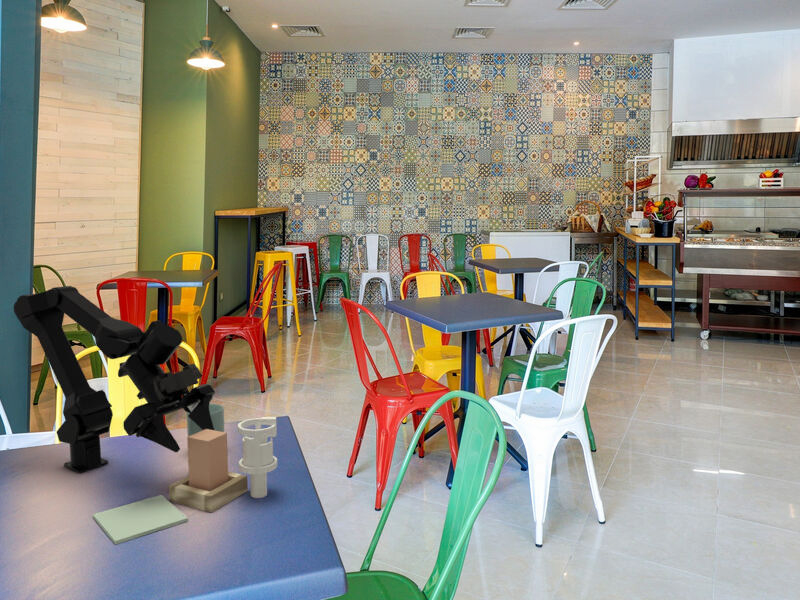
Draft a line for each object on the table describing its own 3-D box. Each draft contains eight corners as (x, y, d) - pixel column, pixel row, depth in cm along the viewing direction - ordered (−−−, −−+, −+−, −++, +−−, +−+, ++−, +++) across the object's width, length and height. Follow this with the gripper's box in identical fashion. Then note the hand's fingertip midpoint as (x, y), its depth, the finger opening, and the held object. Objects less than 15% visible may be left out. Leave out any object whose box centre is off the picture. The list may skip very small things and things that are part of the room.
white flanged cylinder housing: (277, 501, 117) (275, 423, 115) (238, 504, 115) (236, 425, 113) (278, 485, 124) (276, 411, 122) (241, 487, 122) (239, 413, 120)
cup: (214, 459, 136) (212, 415, 135) (181, 456, 138) (179, 412, 137) (231, 447, 144) (229, 404, 143) (199, 444, 145) (198, 402, 144)
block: (189, 498, 117) (187, 436, 116) (208, 488, 122) (206, 428, 120) (210, 504, 115) (208, 441, 114) (228, 493, 120) (226, 432, 118)
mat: (92, 517, 110) (92, 514, 110) (161, 497, 118) (161, 494, 118) (115, 544, 101) (115, 541, 101) (187, 521, 109) (187, 517, 109)
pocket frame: (169, 501, 116) (168, 485, 116) (207, 481, 125) (207, 466, 125) (211, 512, 112) (210, 496, 112) (247, 490, 121) (247, 475, 121)
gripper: (130, 363, 110) (181, 433, 107) (206, 344, 127) (251, 404, 124) (102, 401, 115) (149, 469, 111) (178, 378, 131) (221, 437, 128)
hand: (196, 442), depth 119 cm, fingers open, 9 cm apart
